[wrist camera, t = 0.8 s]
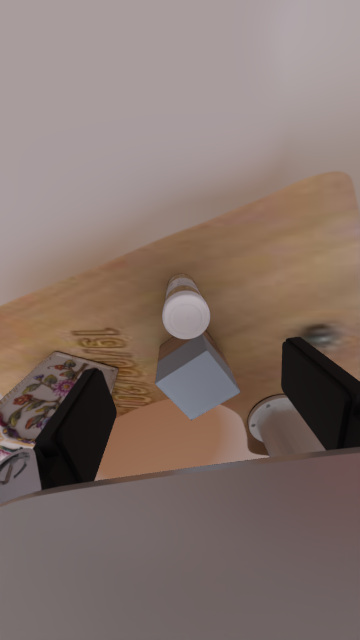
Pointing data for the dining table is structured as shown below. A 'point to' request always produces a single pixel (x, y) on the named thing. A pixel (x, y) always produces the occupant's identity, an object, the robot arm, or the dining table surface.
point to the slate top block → (196, 377)
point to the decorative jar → (41, 399)
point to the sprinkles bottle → (184, 308)
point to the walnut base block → (177, 342)
